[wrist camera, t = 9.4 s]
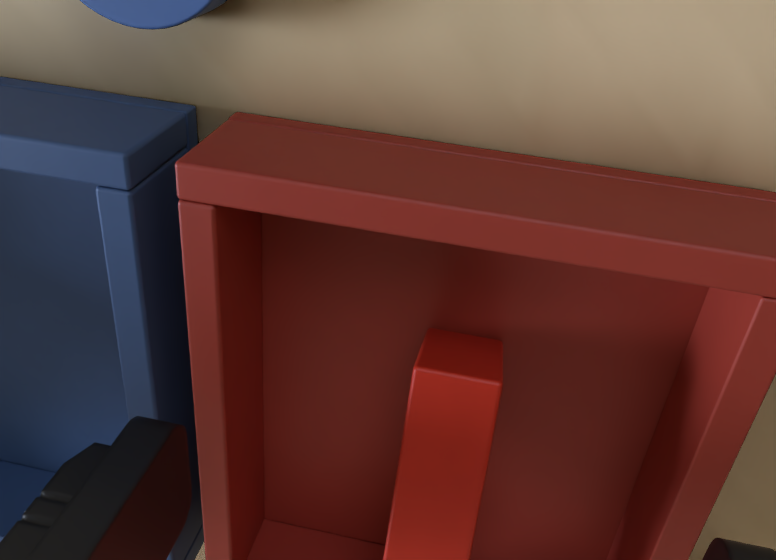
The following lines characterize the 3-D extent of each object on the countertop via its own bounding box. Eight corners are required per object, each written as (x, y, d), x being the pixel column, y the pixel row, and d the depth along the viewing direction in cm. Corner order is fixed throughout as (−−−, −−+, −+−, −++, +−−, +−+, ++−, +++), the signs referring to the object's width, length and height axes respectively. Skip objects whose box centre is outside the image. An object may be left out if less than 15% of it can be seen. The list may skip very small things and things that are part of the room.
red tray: (235, 110, 12) (172, 161, 10) (777, 191, 11) (828, 267, 9) (247, 516, 17) (207, 602, 15) (613, 597, 16) (622, 702, 14)
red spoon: (379, 317, 13) (355, 355, 11) (553, 349, 13) (563, 394, 11) (328, 675, 15) (300, 766, 13) (479, 712, 15) (474, 812, 13)
